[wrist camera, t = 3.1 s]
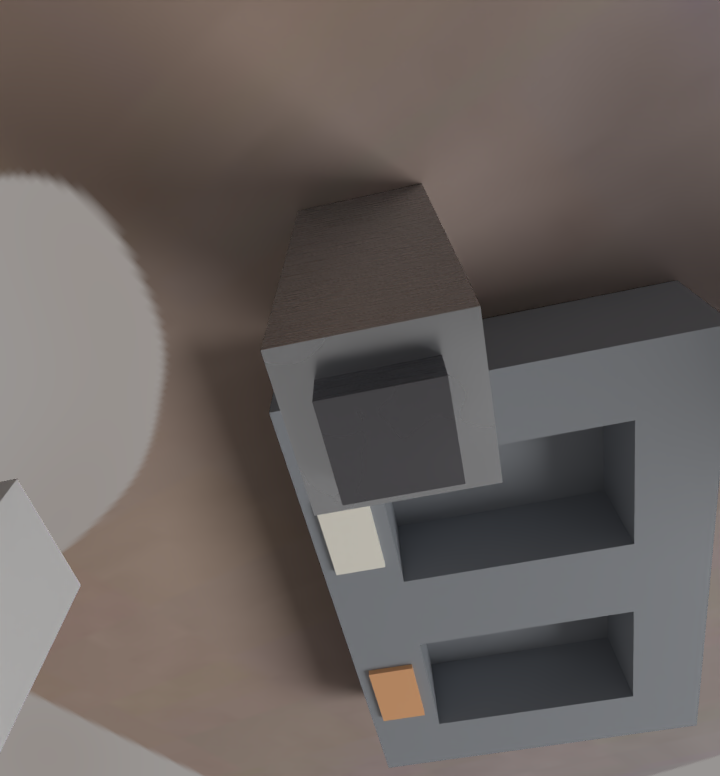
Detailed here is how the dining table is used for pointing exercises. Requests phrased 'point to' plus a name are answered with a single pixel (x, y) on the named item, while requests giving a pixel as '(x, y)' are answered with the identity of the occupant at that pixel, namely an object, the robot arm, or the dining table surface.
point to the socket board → (547, 542)
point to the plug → (380, 356)
